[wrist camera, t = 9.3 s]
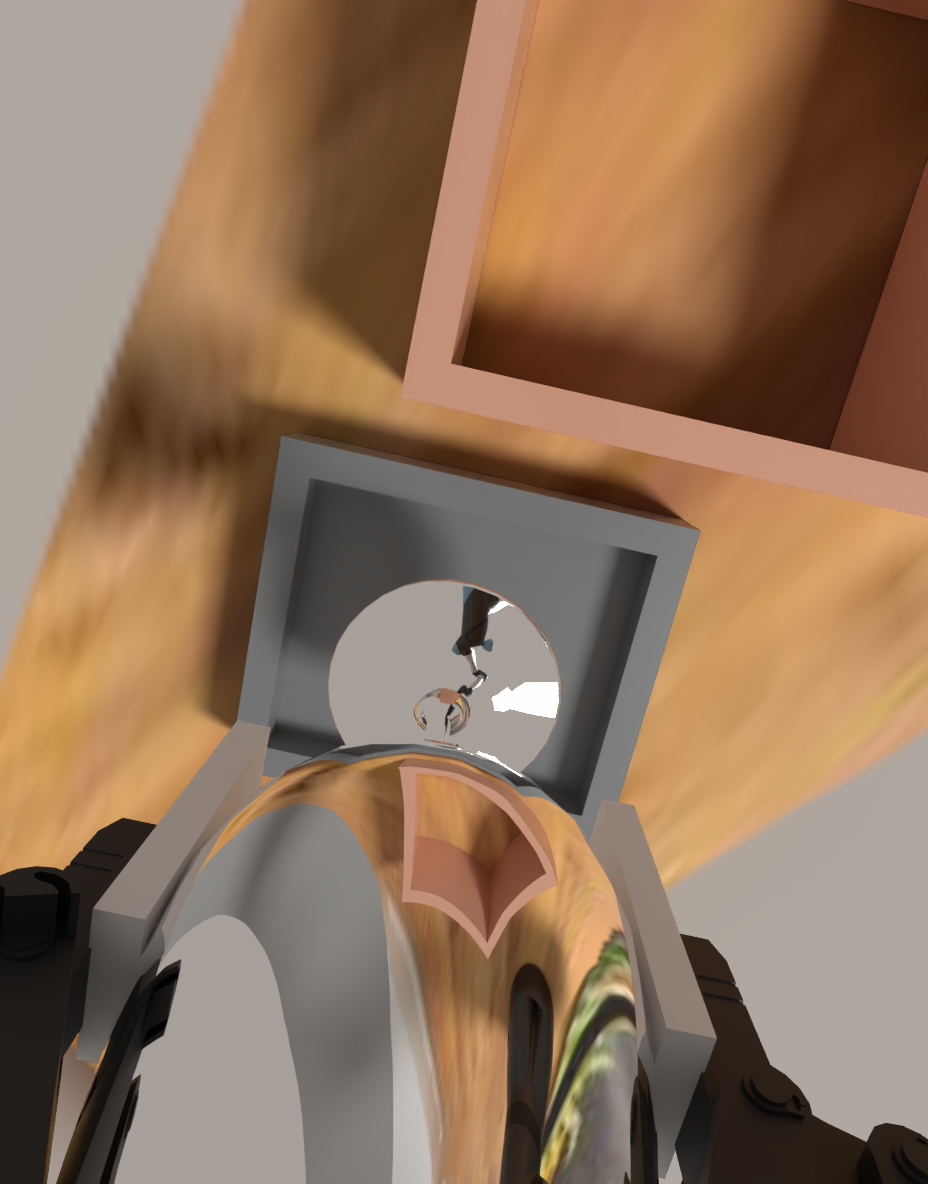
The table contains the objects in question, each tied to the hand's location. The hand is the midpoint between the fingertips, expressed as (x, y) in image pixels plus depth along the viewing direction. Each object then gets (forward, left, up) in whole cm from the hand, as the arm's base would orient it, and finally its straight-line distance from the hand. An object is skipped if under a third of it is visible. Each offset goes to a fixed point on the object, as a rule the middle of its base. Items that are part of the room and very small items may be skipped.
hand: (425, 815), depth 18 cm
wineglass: (0, 0, -8) cm, 8 cm away
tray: (0, 0, -14) cm, 14 cm away
